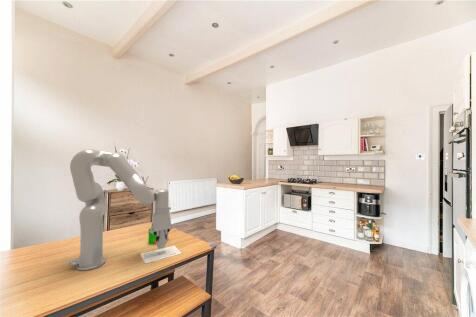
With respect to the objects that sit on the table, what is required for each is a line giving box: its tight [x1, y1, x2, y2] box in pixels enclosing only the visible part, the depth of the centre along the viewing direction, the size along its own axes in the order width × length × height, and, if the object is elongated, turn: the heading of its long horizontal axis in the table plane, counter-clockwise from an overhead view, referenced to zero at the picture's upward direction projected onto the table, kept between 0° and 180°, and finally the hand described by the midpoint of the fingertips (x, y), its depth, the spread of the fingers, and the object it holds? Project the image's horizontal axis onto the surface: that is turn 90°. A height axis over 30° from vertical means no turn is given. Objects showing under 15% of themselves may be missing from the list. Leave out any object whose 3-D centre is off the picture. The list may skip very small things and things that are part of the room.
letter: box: [140, 245, 182, 264], centre depth 117 cm, size 20×13×1 cm, turn 126°
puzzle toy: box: [147, 225, 169, 245], centre depth 135 cm, size 10×10×10 cm
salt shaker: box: [155, 228, 168, 249], centre depth 118 cm, size 6×6×13 cm
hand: (161, 241), depth 118 cm, fingers closed on salt shaker, 3 cm apart
